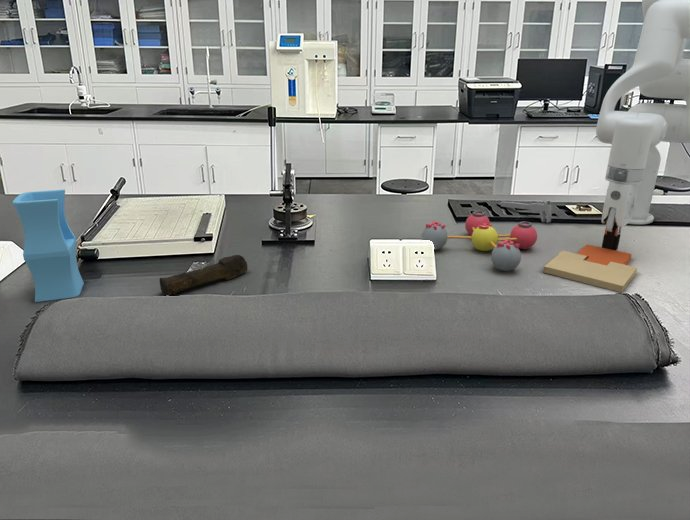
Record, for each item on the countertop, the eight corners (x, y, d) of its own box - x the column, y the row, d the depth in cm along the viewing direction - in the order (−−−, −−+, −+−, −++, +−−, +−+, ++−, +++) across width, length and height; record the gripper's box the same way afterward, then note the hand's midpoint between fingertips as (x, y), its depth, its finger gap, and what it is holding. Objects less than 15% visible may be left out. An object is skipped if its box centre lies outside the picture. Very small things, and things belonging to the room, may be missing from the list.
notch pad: (561, 256, 125) (562, 250, 124) (636, 273, 116) (637, 267, 115) (543, 272, 116) (544, 266, 116) (621, 292, 107) (623, 285, 106)
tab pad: (585, 249, 129) (586, 244, 128) (630, 259, 123) (631, 253, 123) (571, 263, 121) (572, 257, 120) (619, 274, 115) (620, 268, 115)
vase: (78, 296, 106) (57, 200, 98) (34, 302, 104) (9, 203, 96) (84, 280, 113) (65, 189, 105) (43, 285, 111) (20, 192, 103)
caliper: (550, 223, 147) (553, 201, 145) (547, 224, 147) (551, 202, 144) (499, 204, 164) (502, 184, 161) (497, 205, 163) (499, 185, 161)
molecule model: (415, 249, 129) (416, 224, 127) (461, 228, 144) (463, 205, 141) (510, 278, 114) (514, 250, 111) (552, 251, 128) (556, 226, 125)
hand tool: (166, 300, 104) (163, 279, 102) (159, 293, 107) (156, 272, 105) (253, 276, 115) (251, 257, 113) (244, 270, 118) (243, 251, 116)
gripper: (634, 183, 112) (618, 263, 119) (650, 170, 122) (634, 244, 130) (597, 178, 116) (583, 255, 123) (615, 165, 127) (601, 237, 134)
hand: (609, 249), depth 126 cm, fingers closed
